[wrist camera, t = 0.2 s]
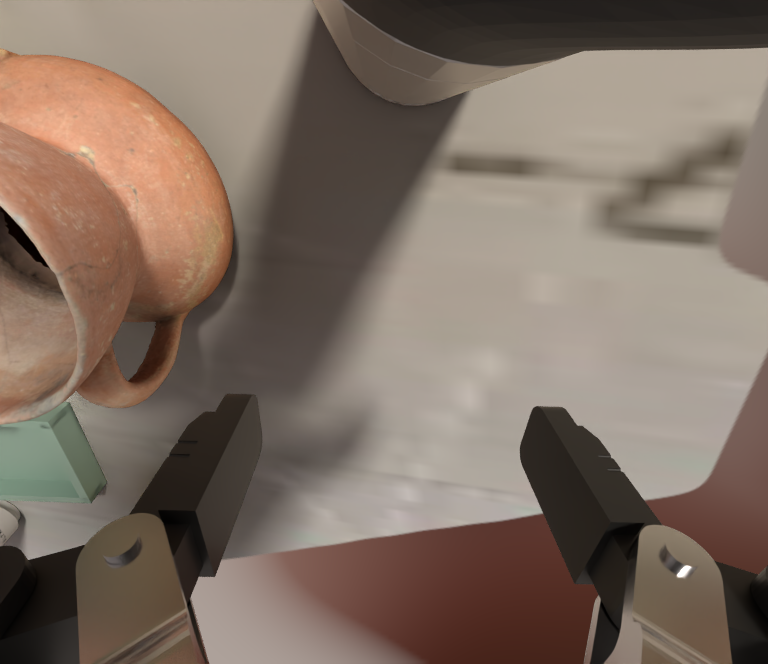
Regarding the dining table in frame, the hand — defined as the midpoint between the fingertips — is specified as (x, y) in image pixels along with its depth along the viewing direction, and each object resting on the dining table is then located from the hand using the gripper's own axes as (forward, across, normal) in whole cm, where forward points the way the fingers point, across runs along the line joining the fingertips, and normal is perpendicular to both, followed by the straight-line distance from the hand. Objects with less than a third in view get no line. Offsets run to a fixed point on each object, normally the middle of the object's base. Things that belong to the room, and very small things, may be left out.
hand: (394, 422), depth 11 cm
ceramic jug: (+17, +16, -2) cm, 24 cm away
